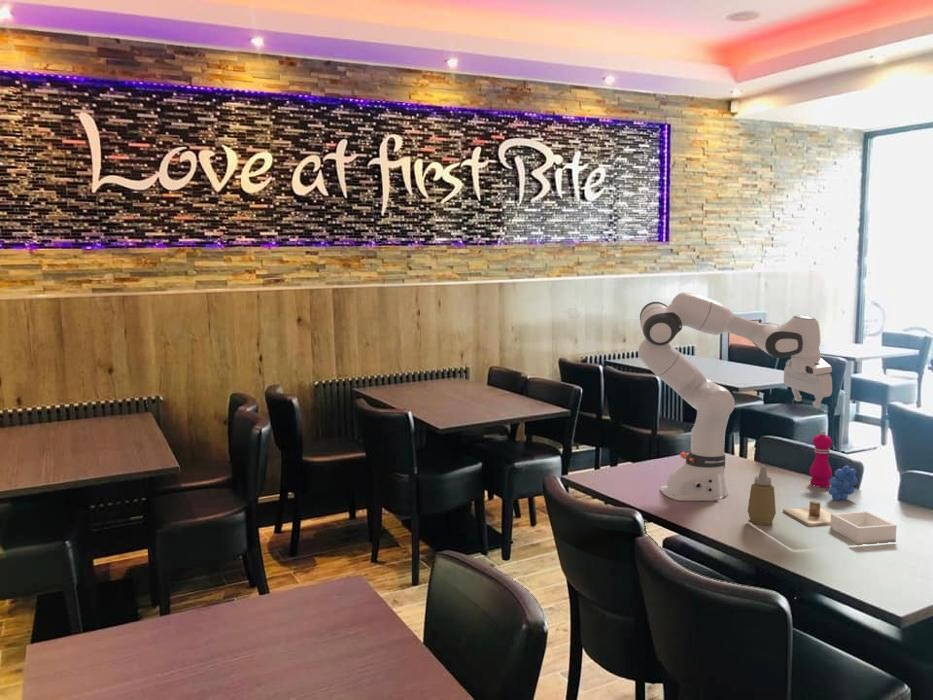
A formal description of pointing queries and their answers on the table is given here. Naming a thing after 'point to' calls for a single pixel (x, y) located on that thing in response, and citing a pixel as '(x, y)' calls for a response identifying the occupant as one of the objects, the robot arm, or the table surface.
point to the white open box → (863, 527)
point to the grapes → (842, 483)
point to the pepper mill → (821, 461)
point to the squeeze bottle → (762, 500)
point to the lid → (811, 514)
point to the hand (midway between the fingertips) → (807, 404)
